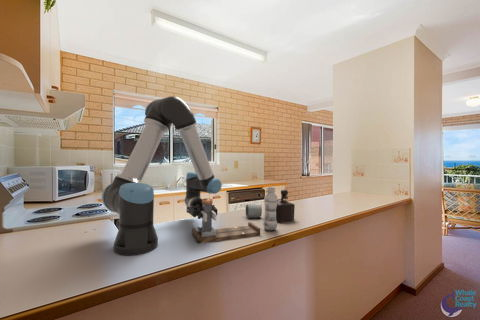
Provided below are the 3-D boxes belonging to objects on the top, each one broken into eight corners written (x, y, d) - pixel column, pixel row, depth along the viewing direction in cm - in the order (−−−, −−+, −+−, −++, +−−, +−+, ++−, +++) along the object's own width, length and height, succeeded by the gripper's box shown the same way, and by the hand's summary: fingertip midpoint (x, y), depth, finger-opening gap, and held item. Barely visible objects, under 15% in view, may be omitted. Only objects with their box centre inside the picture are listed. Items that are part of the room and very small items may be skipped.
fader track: (197, 243, 90) (197, 236, 90) (192, 235, 99) (192, 228, 99) (260, 235, 101) (260, 228, 101) (250, 228, 110) (250, 222, 110)
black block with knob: (267, 217, 130) (268, 186, 130) (284, 216, 134) (284, 185, 134) (282, 225, 116) (283, 190, 115) (300, 223, 120) (301, 189, 119)
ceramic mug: (262, 218, 128) (262, 205, 128) (248, 219, 126) (248, 205, 126) (257, 214, 138) (257, 201, 138) (243, 214, 136) (244, 201, 136)
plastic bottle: (272, 227, 113) (273, 186, 113) (279, 231, 107) (280, 188, 107) (260, 228, 111) (261, 187, 111) (267, 232, 105) (268, 189, 104)
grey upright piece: (201, 237, 92) (202, 201, 92) (197, 232, 99) (198, 198, 98) (216, 235, 95) (216, 200, 94) (211, 230, 101) (211, 197, 101)
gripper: (213, 211, 116) (229, 224, 95) (180, 214, 110) (190, 229, 88) (213, 197, 116) (230, 206, 95) (180, 198, 109) (190, 209, 88)
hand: (210, 217), depth 91 cm, fingers closed on grey upright piece, 3 cm apart
